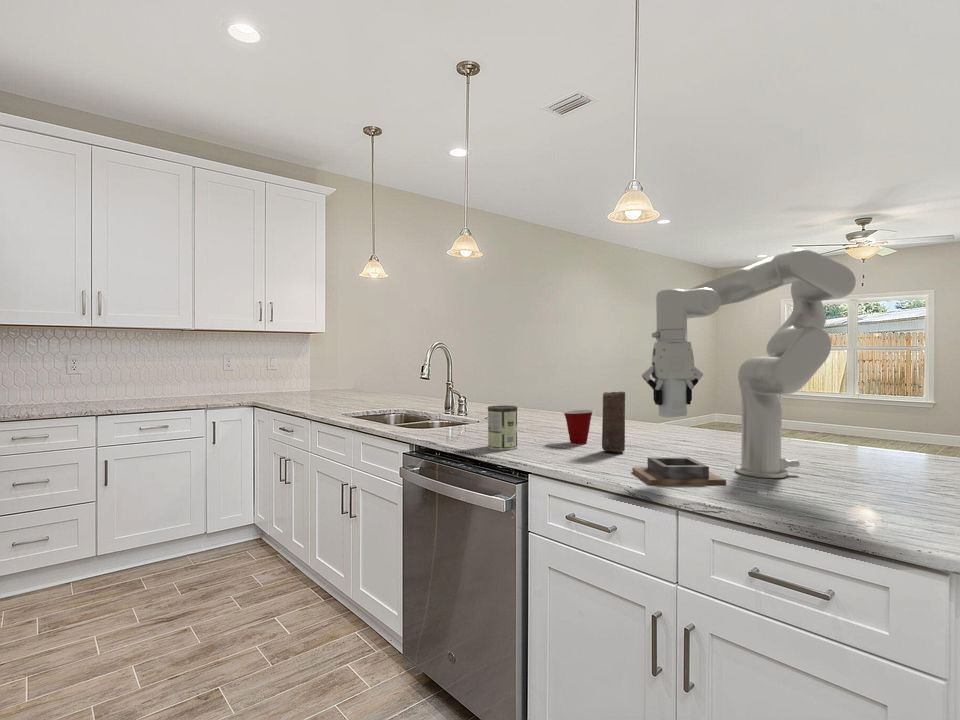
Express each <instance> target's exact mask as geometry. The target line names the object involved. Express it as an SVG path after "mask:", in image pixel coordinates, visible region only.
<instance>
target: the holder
mask: <svg viewBox="0 0 960 720" xmlns="http://www.w3.org/2000/svg"><path fill="white" fill-rule="evenodd" d="M632 471H633V472H634V473H633V472H632V473H633V474H634V475H636V474H637V475H638V476H637V475H636V476H637V477H639V478H640V477H641V478H642V479H641V478H640V479H641V480H643V481H644V482H645V481H646V482H645V483H647V484H648V485H650V486H662V485H663V486H672V485H673V486H682V485H684V486H686V485H687V486H699V485H700V486H702V485H703V486H704V485H705V486H706V485H709V486H717V485H718V486H719V485H720V486H723V485H722V484H726V485H727V479H726V478H723V477H721V476H719V475H717V474H716V473H713V472H711V471H710V466H709V465H706V464H704V463H702V462H700V461H697V460H696V459H694V458H691V457H687V456H686V457H647V467H632Z"/></svg>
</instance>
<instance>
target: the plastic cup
mask: <svg viewBox="0 0 960 720" xmlns="http://www.w3.org/2000/svg"><path fill="white" fill-rule="evenodd" d="M593 412H594V410H591V409H575V410H565V411H563V412H562V413H563V415H564V417H565V421H566V426H567V432H568V433H567V434H568V437H569V442H570V444H572V443H573V445H586V444H587V442H588V438H589V432H590V427H591V420H592V416H593Z"/></svg>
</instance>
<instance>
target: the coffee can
mask: <svg viewBox="0 0 960 720" xmlns="http://www.w3.org/2000/svg"><path fill="white" fill-rule="evenodd" d="M518 409H519V408H518V406H515V405H491V406H487V440H488V441H487V442H488V443H487V448H488V449H489V450H495V451H511V450H517V448H518Z"/></svg>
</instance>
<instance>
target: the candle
mask: <svg viewBox="0 0 960 720" xmlns="http://www.w3.org/2000/svg"><path fill="white" fill-rule="evenodd" d="M601 425H602V426H601V427H602V429H601V431H602V433H601V448H602V450H603V451H605V453H619V452H620V453H621V452H625V451H626V391H611V392H608V391H606V392H603V393H602V424H601Z"/></svg>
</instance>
